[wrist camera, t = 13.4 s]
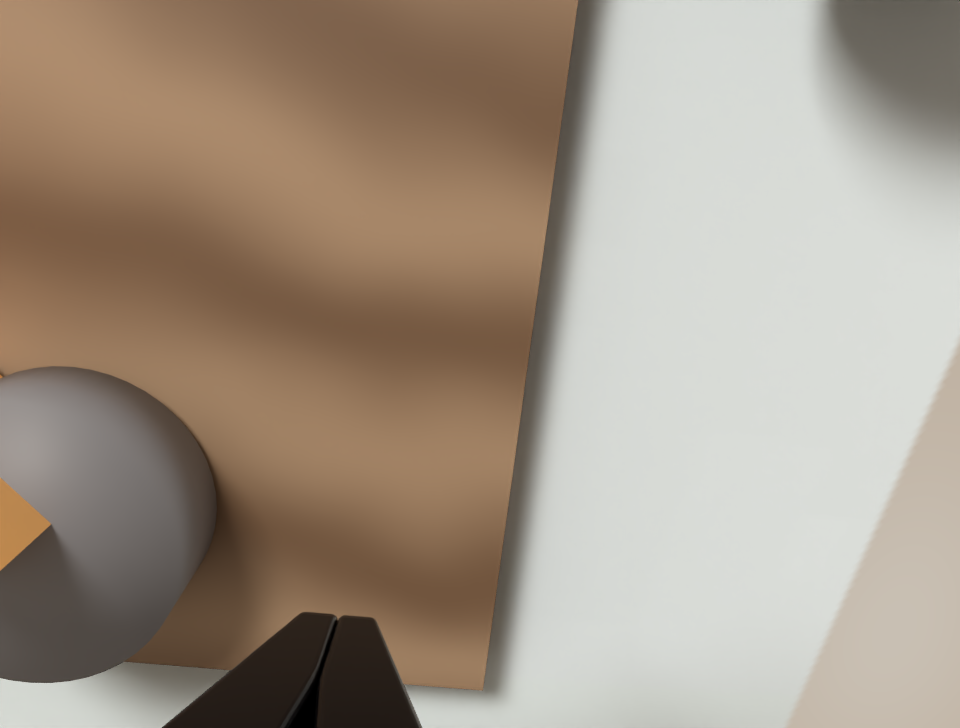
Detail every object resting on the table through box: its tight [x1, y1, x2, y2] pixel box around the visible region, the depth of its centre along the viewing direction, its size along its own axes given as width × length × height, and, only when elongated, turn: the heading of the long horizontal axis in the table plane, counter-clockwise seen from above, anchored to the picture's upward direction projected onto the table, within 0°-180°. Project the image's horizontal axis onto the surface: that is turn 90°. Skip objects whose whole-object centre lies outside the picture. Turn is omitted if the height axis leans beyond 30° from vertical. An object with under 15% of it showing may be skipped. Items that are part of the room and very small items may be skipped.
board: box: [0, 0, 578, 690], centre depth 18 cm, size 22×22×2 cm
